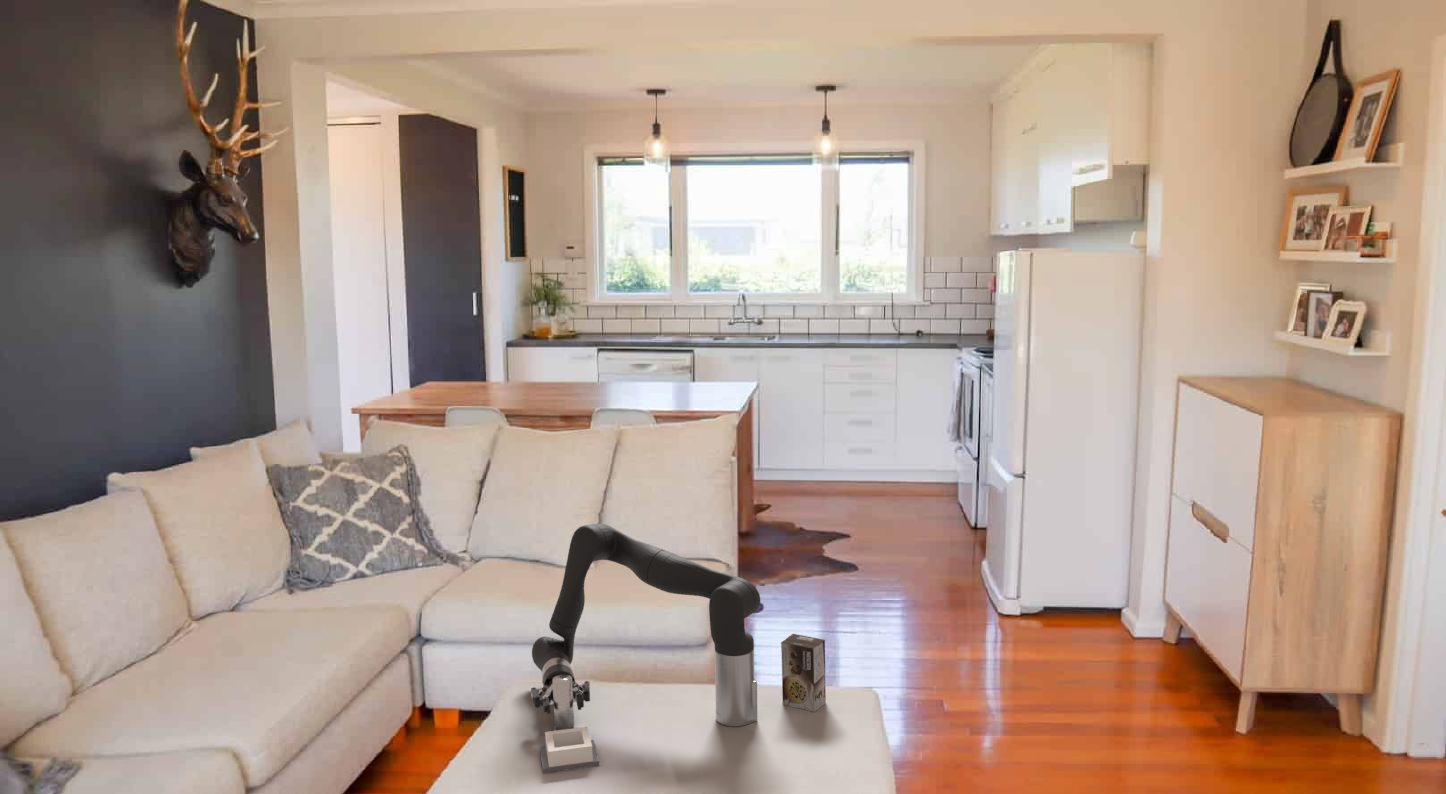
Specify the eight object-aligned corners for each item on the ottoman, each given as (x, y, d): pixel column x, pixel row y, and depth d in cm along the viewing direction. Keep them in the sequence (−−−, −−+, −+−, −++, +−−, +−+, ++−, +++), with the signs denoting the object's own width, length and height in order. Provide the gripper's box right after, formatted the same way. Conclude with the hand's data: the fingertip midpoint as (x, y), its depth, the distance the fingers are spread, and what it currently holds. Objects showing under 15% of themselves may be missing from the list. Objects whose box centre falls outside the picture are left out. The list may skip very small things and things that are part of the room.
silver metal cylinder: (573, 730, 238) (571, 673, 236) (575, 739, 234) (572, 681, 232) (554, 733, 237) (551, 675, 235) (555, 741, 233) (553, 683, 231)
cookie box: (826, 702, 250) (826, 639, 248) (814, 712, 245) (814, 648, 242) (793, 694, 255) (793, 632, 253) (781, 704, 250) (780, 641, 247)
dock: (593, 743, 231) (593, 725, 231) (599, 765, 222) (598, 745, 221) (540, 750, 229) (539, 731, 228) (543, 772, 219) (542, 753, 218)
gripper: (527, 666, 246) (531, 696, 230) (587, 660, 249) (595, 688, 233) (528, 696, 247) (532, 727, 231) (588, 689, 250) (596, 719, 234)
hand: (564, 707), depth 232 cm, fingers open, 6 cm apart
